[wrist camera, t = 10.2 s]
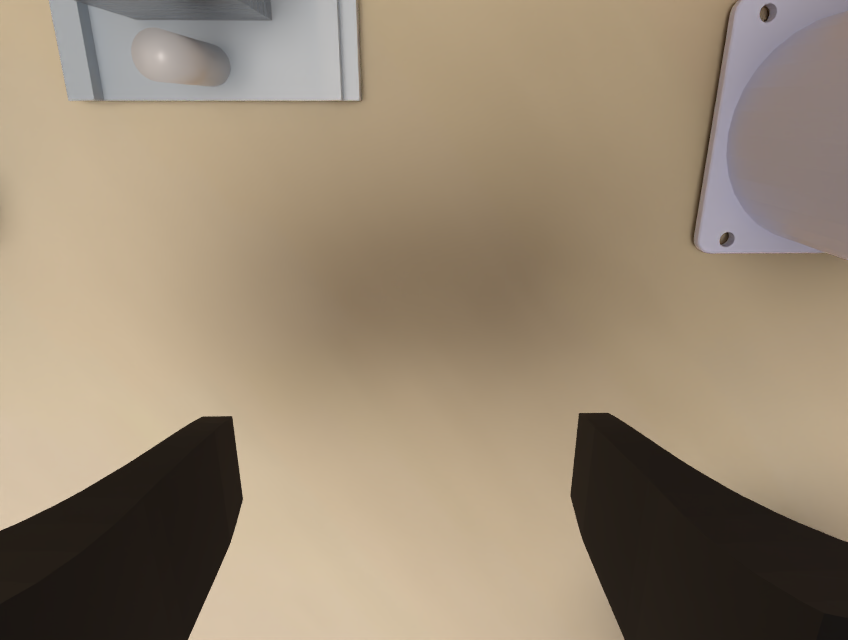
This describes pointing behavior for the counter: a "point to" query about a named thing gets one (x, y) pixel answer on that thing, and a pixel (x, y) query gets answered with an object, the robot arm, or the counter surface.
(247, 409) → the counter surface
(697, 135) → the counter surface
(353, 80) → the tray
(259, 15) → the block
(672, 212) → the counter surface
